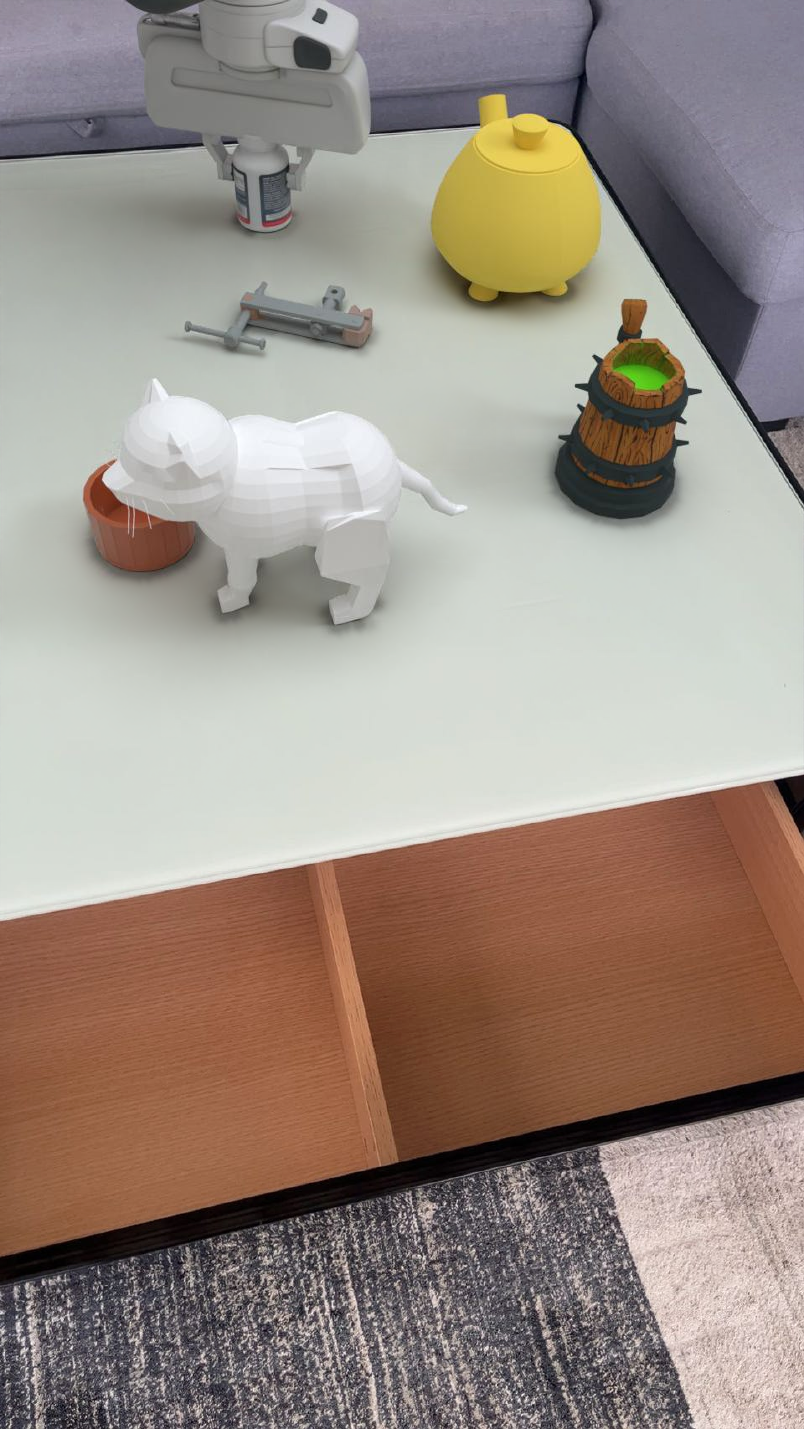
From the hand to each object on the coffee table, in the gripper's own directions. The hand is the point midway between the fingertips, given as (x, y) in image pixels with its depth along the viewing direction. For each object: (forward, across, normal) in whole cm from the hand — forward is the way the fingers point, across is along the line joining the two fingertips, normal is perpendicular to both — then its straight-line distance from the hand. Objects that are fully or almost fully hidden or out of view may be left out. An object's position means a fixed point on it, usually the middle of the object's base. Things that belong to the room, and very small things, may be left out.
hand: (262, 182), depth 101 cm
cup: (+4, +2, -43) cm, 43 cm away
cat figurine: (+4, +14, -45) cm, 47 cm away
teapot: (+4, +24, 0) cm, 24 cm away
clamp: (+4, +6, -16) cm, 18 cm away
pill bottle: (+4, 0, 0) cm, 4 cm away
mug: (+4, +36, -27) cm, 45 cm away
